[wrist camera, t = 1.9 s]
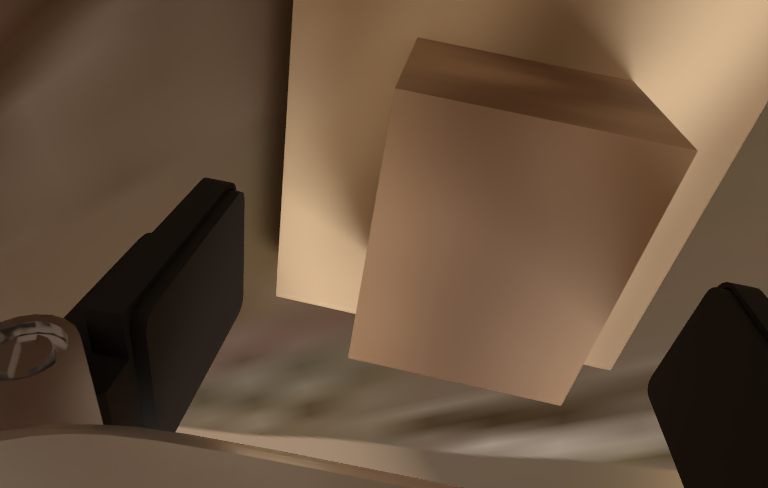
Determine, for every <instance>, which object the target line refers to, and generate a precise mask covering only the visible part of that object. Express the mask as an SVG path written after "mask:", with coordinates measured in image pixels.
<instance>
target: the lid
mask: <svg viewBox="0 0 768 488" xmlns="http://www.w3.org/2000/svg"><path fill="white" fill-rule="evenodd" d="M767 101H768V0H293V15H292V33H291V50H290V67H289V84H288V101H287V118H286V135H285V152H284V170H283V187H282V204H281V221H280V238H279V255H278V272H277V289H276V296H278V297H282V298H287V299H291V300H296V301H300V302H305V303H309V304H314V305H318V306H323V307H327V308H332V309H336V310H341V311H345V312H350V313H354V314H356V315H355V321H354V327H353V333H352V338H351V344H350V350H349V356H348V358H351V359H356V360H360V361H364V362H369V363H373V364H378V365H382V366H387V367H391V368H396V369H400V370H404V371H409V372H413V373H418V374H422V375H427V376H431V377H435V378H440V379H444V380H449V381H453V382H458V383H462V384H467V385H471V386H475V387H480V388H484V389H489V390H493V391H498V392H502V393H507V394H511V395H515V396H520V397H524V398H529V399H533V400H538V401H542V402H547V403H551V404H555V405H560V406H561V405H562V403H563V401H564V399H565V397H566V396H567V394H568V392H569V390H570V388H571V386H572V384H573V383H574V381H575V379H576V377H577V375H578V373H579V371H580V369H581V368H582V366H583V364H584V365H588V366H593V367H597V368H602V369H606V370H611V368H612V367H613V365H614V363H615V362H616V360H617V358H618V356H619V355H620V353H621V351H622V350H623V348H624V346H625V344H626V343H627V341H628V339H629V338H630V336H631V334H632V332H633V331H634V329H635V327H636V326H637V324H638V322H639V320H640V319H641V317H642V315H643V314H644V312H645V310H646V308H647V307H648V305H649V303H650V302H651V300H652V298H653V296H654V295H655V293H656V291H657V290H658V288H659V286H660V285H661V283H662V281H663V279H664V278H665V276H666V274H667V273H668V271H669V269H670V267H671V266H672V264H673V262H674V261H675V259H676V257H677V255H678V254H679V252H680V250H681V249H682V247H683V245H684V243H685V242H686V240H687V238H688V237H689V235H690V233H691V231H692V230H693V228H694V226H695V225H696V223H697V221H698V219H699V218H700V216H701V214H702V213H703V211H704V209H705V208H706V206H707V204H708V202H709V201H710V199H711V197H712V196H713V194H714V192H715V190H716V189H717V187H718V185H719V184H720V182H721V180H722V178H723V177H724V175H725V173H726V172H727V170H728V168H729V166H730V165H731V163H732V161H733V160H734V158H735V156H736V154H737V153H738V151H739V149H740V148H741V146H742V144H743V142H744V141H745V139H746V137H747V136H748V134H749V132H750V131H751V129H752V127H753V125H754V124H755V122H756V120H757V119H758V117H759V115H760V113H761V112H762V110H763V108H764V107H765V105H766V103H767Z"/></svg>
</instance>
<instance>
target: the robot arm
mask: <svg viewBox="0 0 768 488" xmlns="http://www.w3.org/2000/svg"><path fill="white" fill-rule="evenodd" d="M243 272H244V194H243V192H239V191H236V187H235V184H234V183H230V182H225V181H220V180H215V179H211V178H203V179H202V180H201V181H200V182H199V183H198V184H197V185H196V186H195V187H194V188H193V190H192V191H191V192H190V193H189V194H188V195H187V196H186V197H185V198H184V199H183V200H182V201H181V202H180V203H179V205H178V206H177V207H176V208H175V209H174V210H173V211H172V212H171V213H170V214H169V215H168V216H167V217H166V218H165V220H164V221H163V222H162V223H161V224H160V225H159V226H158V227H157V228H156V229H155V230H154V231H153V232H152V233H146V234H145V235H143V236H142V237H141V238H140V239H139V240H138V241H137V242H136V243H135V244H134V245H133V246H132V247H131V248H130V249H129V250H128V251H127V252H126V253H125V254H124V255H123V257H122V258H121V259H120V260H119V261H118V262H117V263H116V264H115V265H114V266H113V267H112V268H111V269H110V270H109V271H108V272H107V273H106V274H105V275H104V276H103V277H102V278H101V280H100V281H99V282H98V283H97V284H96V285H95V286H94V287H93V288H92V289H91V290H90V291H89V292H88V293H87V294H86V295H85V296H84V297H83V298H82V299H81V300H80V301H79V303H78V304H77V305H76V306H75V307H74V308H73V309H72V310H71V311H70V312H69V313H68V314H67V315H66V316H65V317H64V318H60V317H57V316H53V315H37V314H34V315H27V316H20V317H15V318H12V319H9V320H6V321H3V322H0V488H462V487H457V486H452V485H448V484H443V483H438V482H432V481H427V480H423V479H418V478H412V477H407V476H403V475H398V474H393V473H388V472H382V471H377V470H372V469H368V468H362V467H358V466H352V465H347V464H343V463H337V462H333V461H328V460H322V459H317V458H312V457H307V456H303V455H298V454H293V453H288V452H282V451H277V450H271V449H266V448H260V447H255V446H250V445H244V444H238V443H233V442H228V441H222V440H217V439H211V438H205V437H200V436H195V435H189V434H183V433H176V432H175V431H176V430H177V428H178V426H179V424H180V422H181V420H182V418H183V417H184V415H185V413H186V411H187V409H188V407H189V405H190V404H191V402H192V400H193V398H194V396H195V394H196V392H197V390H198V389H199V387H200V385H201V383H202V381H203V379H204V377H205V376H206V374H207V372H208V370H209V368H210V366H211V364H212V362H213V361H214V359H215V357H216V355H217V353H218V351H219V349H220V348H221V346H222V344H223V342H224V340H225V338H226V336H227V335H228V333H229V331H230V329H231V327H232V325H233V323H234V321H235V320H236V318H237V316H238V314H239V312H240V309H241V306H242V301H243ZM648 396H649V399H650V401H651V404H652V407H653V409H654V412H655V414H656V417H657V419H658V422H659V424H660V427H661V430H662V432H663V435H664V437H665V440H666V442H667V445H668V447H669V450H670V453H671V455H672V458H673V460H674V463H675V465H676V468H677V470H678V473H679V476H680V478H681V481H682V483H683V485H684V488H768V298H767V297H766V296H765V295H764V293H763V292H762V291H761V290H760V289H758V288H754V287H749V286H744V285H739V284H734V283H729V282H725V283H722V284H720V285H719V286H718V287H714V288H711V289H709V290H708V292H707V293H706V294H705V296H704V297H703V299H702V300H701V302H700V303H699V305H698V306H697V308H696V309H695V311H694V313H693V314H692V316H691V317H690V319H689V320H688V322H687V323H686V325H685V326H684V328H683V329H682V331H681V332H680V334H679V335H678V337H677V339H676V340H675V342H674V343H673V345H672V346H671V348H670V349H669V351H668V352H667V354H666V355H665V357H664V358H663V360H662V361H661V363H660V365H659V366H658V368H657V369H656V371H655V372H654V374H653V375H652V377H651V379H650V381H649V384H648Z"/></svg>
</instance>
